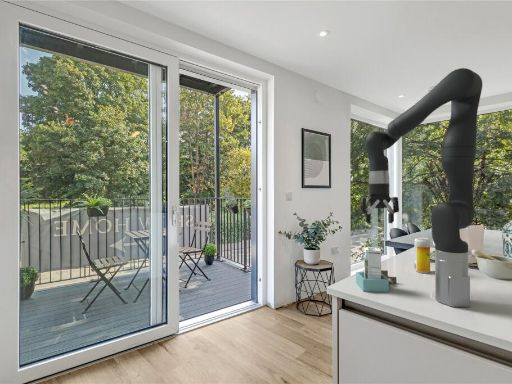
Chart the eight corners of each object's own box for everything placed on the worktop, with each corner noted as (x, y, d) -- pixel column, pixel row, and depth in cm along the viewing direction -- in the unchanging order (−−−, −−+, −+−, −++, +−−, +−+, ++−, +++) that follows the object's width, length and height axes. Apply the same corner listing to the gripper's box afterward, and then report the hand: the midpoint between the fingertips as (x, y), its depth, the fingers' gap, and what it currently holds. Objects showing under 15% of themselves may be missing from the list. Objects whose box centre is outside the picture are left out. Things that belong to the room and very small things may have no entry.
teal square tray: (388, 291, 107) (388, 279, 107) (363, 291, 107) (363, 279, 107) (379, 283, 116) (379, 271, 116) (356, 283, 116) (356, 272, 116)
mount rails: (399, 285, 112) (399, 279, 112) (383, 285, 112) (383, 279, 112) (387, 276, 124) (387, 270, 124) (373, 276, 125) (372, 270, 125)
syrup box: (364, 283, 115) (363, 246, 115) (380, 284, 113) (379, 247, 113) (365, 288, 110) (364, 249, 109) (381, 289, 108) (381, 250, 107)
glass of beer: (433, 273, 126) (432, 239, 126) (419, 274, 126) (418, 239, 126) (425, 269, 132) (425, 237, 132) (411, 269, 132) (411, 237, 132)
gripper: (364, 182, 112) (364, 224, 112) (401, 182, 111) (402, 224, 111) (358, 183, 119) (358, 222, 119) (393, 182, 119) (393, 221, 119)
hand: (379, 223), depth 115 cm, fingers open, 8 cm apart
